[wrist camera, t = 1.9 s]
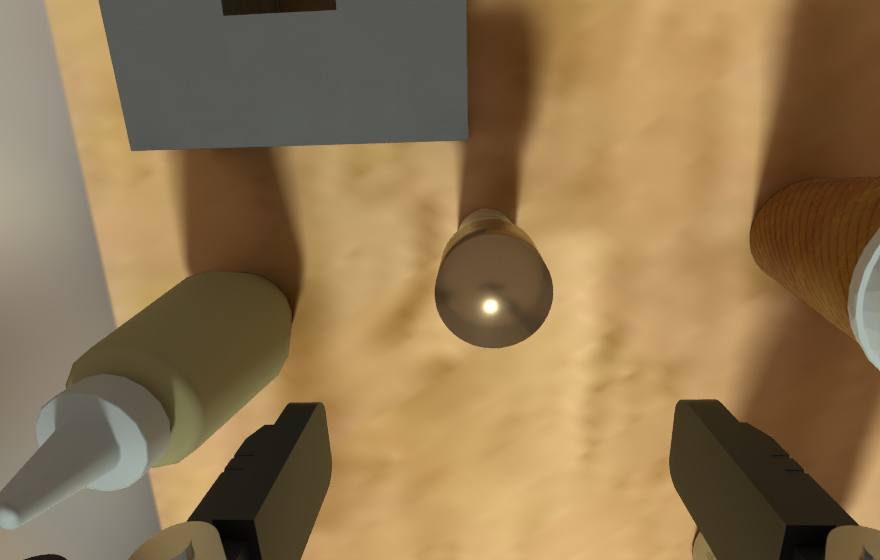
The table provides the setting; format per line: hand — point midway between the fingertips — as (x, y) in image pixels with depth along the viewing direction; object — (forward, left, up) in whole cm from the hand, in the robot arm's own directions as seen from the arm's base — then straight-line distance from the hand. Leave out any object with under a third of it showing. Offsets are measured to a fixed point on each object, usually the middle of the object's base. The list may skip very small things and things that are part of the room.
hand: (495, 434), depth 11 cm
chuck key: (0, 0, -20) cm, 20 cm away
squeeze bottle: (+16, +5, -20) cm, 26 cm away
